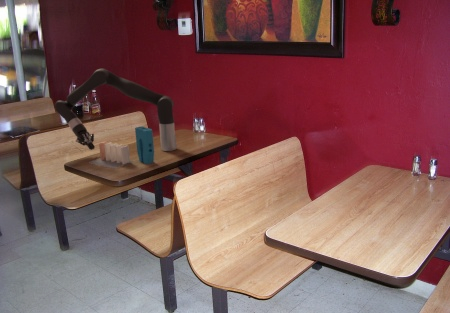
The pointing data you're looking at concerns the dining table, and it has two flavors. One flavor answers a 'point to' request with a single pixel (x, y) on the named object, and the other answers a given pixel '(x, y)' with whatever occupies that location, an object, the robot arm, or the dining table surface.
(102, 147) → the terracotta tile
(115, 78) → the robot arm
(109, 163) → the mat
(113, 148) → the domino
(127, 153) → the domino
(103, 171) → the dining table surface
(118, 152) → the domino
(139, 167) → the dining table surface
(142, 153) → the block
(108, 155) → the domino
